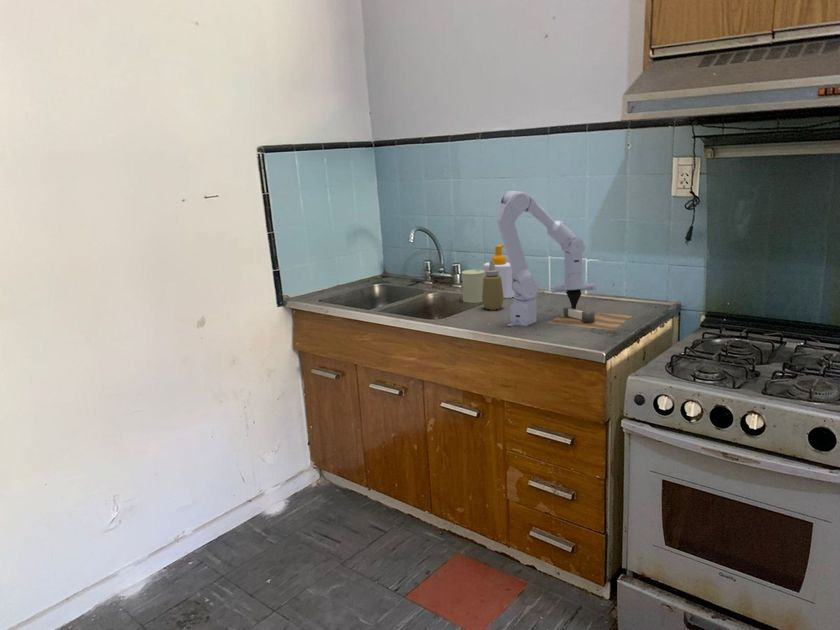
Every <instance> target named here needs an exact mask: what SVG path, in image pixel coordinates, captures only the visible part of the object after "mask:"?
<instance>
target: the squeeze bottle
mask: <svg viewBox="0 0 840 630" xmlns="http://www.w3.org/2000/svg"><path fill="white" fill-rule="evenodd" d="M489 263H490V264H489V270H486V275H487V276H485V277H484V278H483V292H482V301H483V302H482V304H483V306H484V309H485V308H486V309H485V310H487V309H490V310H489V311H497V310H501V309H500V308H502V305H503V302H504V299H505V298H504V296H503V288H502V280H501V277H500V276H498V270H496V269H495V265H494V261H493V260H492V259H491V260H490V261H489ZM496 309H497V310H496Z"/></svg>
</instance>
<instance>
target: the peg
mask: <svg viewBox="0 0 840 630" xmlns="http://www.w3.org/2000/svg"><path fill="white" fill-rule="evenodd" d="M562 309H563V312H562V314H563V315H566V316H570V317H573V318H577V319H581V320H582V322H585V323H592V322H594V321H595V311H594V310H584V311H583V310H579V309H577V308H576V309H572V308H571V307H567V306H566V307H563V308H562Z"/></svg>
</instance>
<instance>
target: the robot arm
mask: <svg viewBox="0 0 840 630" xmlns="http://www.w3.org/2000/svg"><path fill="white" fill-rule="evenodd" d="M498 208H499V209H498V214H497V218H496V223H497V226H498V229H499V233H500V236H501V238H502V243H503V245H504V250H505V252H506V256H507V258H508V263H510V266H511V269H512V275H511V277H512V289H513V291H514V292H515V295H514V297H513V298H514V300H513V302H512V303H511V305H510V307H509V323H508V324H507V326H508V327H514V326H525V327H527V326H529V325H531V324H535V323H537V321H538V320H537V296H538V294H539V293H540V292H539V291H540V287H539V285H538V283H537V282H536V281H535V279H534V276H533V274H532V273H531V271H530V270H529V268H528V263H527V261H526V257H525V254H524V251H523V248H522V245H521V241H520V238H519V235H518V231H517V228H516V224H515V223H516V221H517V220H518V218H519V217H520V216H521V215H522V214H523V213H524V212H525V213H529V214H531V216H533V218H535V219H537V221H538V222H539V223H541V224H542V225H543V226H544V227H545V228H546V233H547V235H548V236H549V237H551V238H552V239H553V241H555V242H556V243H557V244H558V245H559V246H560V248H561V250H562V251H564V263H563V264H564V284H558V285H551V286H550V290H551V293H552V294H554V293H564V292H565V293H566V296H567V298H568V299H569V302H570V305H571V306H570V308H572V309H576V310H577V305H578V302H579V299H580V298H581V296H582V291H596V290H597V284H596V283H583V253H584V252H585V250H586V244H585V242H584V239H582V238H580V237H577V236H576V234H577V233H576V232H575V231H571V229H570V228H568V226H567V223H566V222H565V221H563V220H562V221H561V220H554V219H553V217H552V216H551V215H550V214H549V213H548V212H547V211H546V209H544V208H543V207H542V206H541V205H540V203H538V202H537V201H536V200H535V199H534V198H533V197H531V196H529V194H528V193H527V192H525V191H522V190H521V191H520V190H518V191H517V190H512V189H511V190H508V191H507V190H506V192H504V194H503V195H502V197H501V198H500V200H499V207H498Z"/></svg>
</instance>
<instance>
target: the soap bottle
mask: <svg viewBox="0 0 840 630" xmlns="http://www.w3.org/2000/svg"><path fill="white" fill-rule="evenodd" d="M494 248H495V249H494V250H495V252H494V253H495V254H494V256H492V258H491V261H492V260H493V261H494V265H495V269H496V270H498V276H500V277H501V280H502V288H503V296H504V299H513V298H514V295H515V292H514V291H513V289H512V277H511V275H512V269H511V266H510V262H507V258H506V256H505V255H503V248H505V246H504V244H499V245H495V246H494ZM489 264H490V262H486V263H484V264H483V270H484V271H485V276H487V275H486V270H489ZM512 297H513V298H512Z"/></svg>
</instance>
